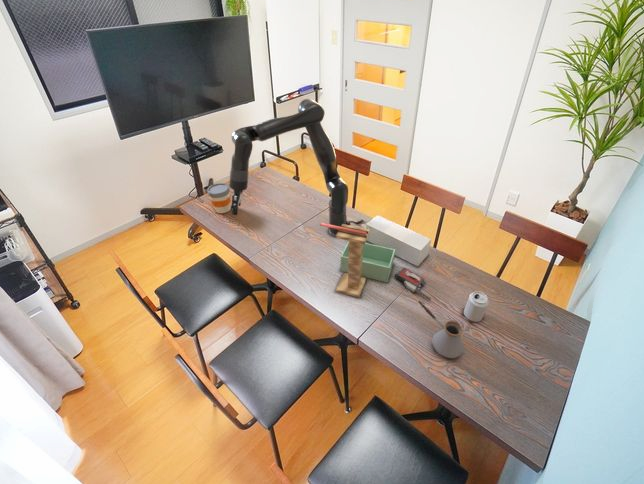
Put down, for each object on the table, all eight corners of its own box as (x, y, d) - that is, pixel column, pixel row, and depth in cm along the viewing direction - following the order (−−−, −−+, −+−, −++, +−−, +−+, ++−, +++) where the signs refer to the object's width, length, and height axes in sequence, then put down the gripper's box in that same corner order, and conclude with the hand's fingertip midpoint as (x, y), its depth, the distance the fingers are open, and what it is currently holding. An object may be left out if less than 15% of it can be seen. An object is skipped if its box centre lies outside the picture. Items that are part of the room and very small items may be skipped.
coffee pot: (467, 347, 127) (477, 324, 118) (452, 368, 120) (461, 344, 111) (420, 315, 139) (425, 291, 130) (404, 332, 132) (409, 308, 123)
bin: (340, 270, 160) (340, 256, 154) (348, 253, 170) (349, 239, 164) (387, 282, 154) (389, 268, 148) (393, 263, 164) (395, 249, 158)
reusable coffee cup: (212, 205, 206) (206, 184, 197) (233, 202, 209) (228, 181, 200) (212, 216, 196) (206, 195, 187) (234, 212, 199) (229, 191, 190)
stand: (335, 291, 149) (334, 235, 130) (342, 274, 158) (343, 220, 138) (360, 297, 146) (364, 242, 127) (366, 280, 155) (371, 225, 135)
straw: (319, 226, 136) (319, 223, 136) (320, 224, 137) (320, 221, 137) (365, 236, 131) (366, 233, 130) (366, 234, 132) (366, 231, 131)
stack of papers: (427, 255, 168) (431, 239, 162) (417, 266, 162) (420, 250, 155) (376, 230, 185) (377, 215, 178) (365, 239, 178) (366, 224, 172)
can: (467, 305, 143) (474, 286, 136) (484, 314, 139) (492, 295, 132) (460, 316, 138) (467, 297, 131) (478, 326, 134) (486, 307, 127)
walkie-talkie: (391, 279, 155) (429, 302, 144) (392, 273, 152) (430, 296, 141) (401, 269, 160) (438, 291, 149) (403, 263, 158) (440, 284, 147)
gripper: (245, 185, 134) (242, 219, 142) (250, 172, 147) (247, 203, 154) (226, 182, 133) (224, 216, 141) (233, 169, 145) (230, 201, 153)
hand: (236, 210), depth 148 cm, fingers open, 8 cm apart
